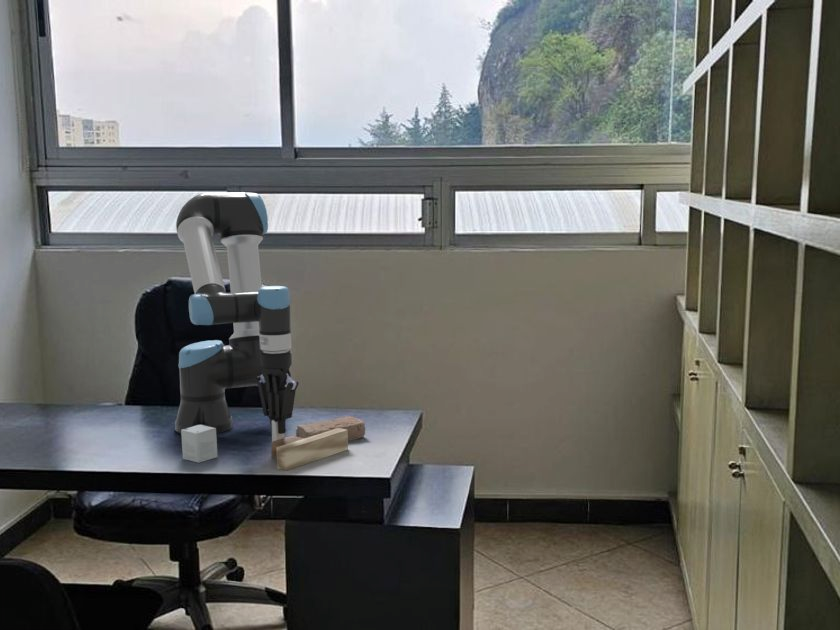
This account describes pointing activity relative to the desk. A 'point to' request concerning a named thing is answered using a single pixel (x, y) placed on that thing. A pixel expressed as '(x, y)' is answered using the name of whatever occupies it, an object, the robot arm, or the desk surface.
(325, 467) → the desk surface
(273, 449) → the block
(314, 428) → the brick
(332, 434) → the board
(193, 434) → the skincare box
